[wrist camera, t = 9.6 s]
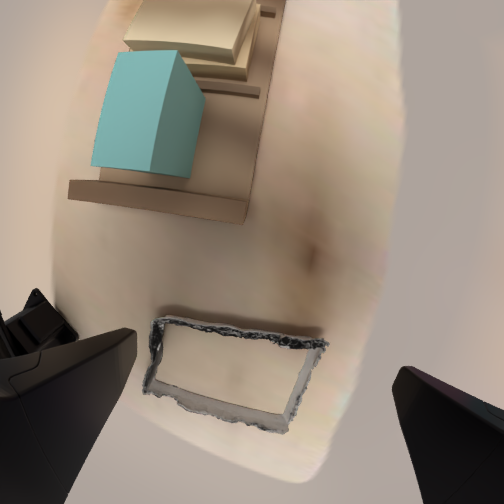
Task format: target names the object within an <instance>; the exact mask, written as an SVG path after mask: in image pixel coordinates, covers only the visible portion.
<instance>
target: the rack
mask: <svg viewBox="0 0 504 504" xmlns="http://www.w3.org/2000/svg"><path fill="white" fill-rule="evenodd" d="M285 2H286V0H256V4H260V24H259V29H258V33H257V37H256V42H255V46H254V51H253V55H252V60H251V65H250V69H249V74H248V79H247V82H243V81H235V80H225V79H215V78H202V77H193V78H194V79H195V81H196V83H197V84H198V86H199V88H200V90H201V91H202V93H203V95H204V97H205V98H206V100H205V104H204V109H203V113H202V118H201V123H200V128H199V133H198V138H197V143H196V148H195V153H194V159H193V164H192V170H191V176H190V178H183V177H175V176H168V175H159V174H151V173H143V172H136V171H129V170H121V169H113V168H105V167H101V171H100V178H99V180H70V182H69V191H68V199H71V200H79V201H87V202H94V203H102V204H109V205H117V206H124V207H131V208H138V209H145V210H151V211H158V212H165V213H171V214H178V215H184V216H191V217H197V218H203V219H209V220H215V221H222V222H228V223H234V224H240V225H243V223H244V221H245V218H246V214H247V209H248V203H249V197H250V191H251V185H252V180H253V174H254V168H255V162H256V157H257V151H258V146H259V140H260V134H261V129H262V123H263V118H264V112H265V107H266V101H267V96H268V90H269V85H270V80H271V74H272V69H273V64H274V58H275V53H276V48H277V43H278V37H279V32H280V27H281V22H282V17H283V12H284V7H285ZM129 51H130V49H129Z"/></svg>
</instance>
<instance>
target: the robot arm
mask: <svg viewBox="0 0 504 504" xmlns="http://www.w3.org/2000/svg"><path fill="white" fill-rule="evenodd" d="M1 315H2V314H1V311H0V504H64V502H65V500H66V498H67V496H68V494H67V493H69V492H70V490H71V488H72V486H73V483H74V481H75V479H76V477H77V476H78V474H79V472H80V470H81V468H82V466H83V464H84V462H85V460H86V458H87V456H88V454H89V452H90V451H91V449H92V447H93V445H94V443H95V441H96V439H97V437H98V436H99V434H100V432H101V430H102V428H103V426H104V425H105V423H106V421H107V419H108V417H109V415H110V414H111V412H112V410H113V408H114V406H115V405H116V403H117V401H118V399H119V397H120V396H121V394H122V391H123V389H124V387H125V384H126V382H127V379H128V377H129V374H130V372H131V369H132V367H133V365H134V362H135V360H136V357H137V333H136V331H135V330H133V329H129V328H121V329H118V330H114V331H111V332H107V333H104V334H100V335H97V336H94V337H90V338H86V339H83V340H79V341H77V340H78V335H77V333H76V332H75V331H74V330H73V329H72V328H71V327H70V326H69V325H68V324H67V322H66V321H65V320H64V319H63V318H62V317H61V316H60V315H59V313H58V312H57V311H56V310H55V309H54V308H53V306H52V305H51V304H50V303H49V302H48V300H47V299H46V298H45V297H44V295H43V294H42V293H41V292H40V291H39V289H37V288H35V289H33V290H32V292H31V294H30V296H29V298H28V300H27V302H26V304H25V307H24V309H23V311H21V312H19V313H18V314H16V315H14V316H13V317H11V318H10V319H8V320H6V321H5V322H4V320H3V318H2V316H1ZM73 337H74V338H73ZM392 393H393V397H394V401H395V406H396V410H397V414H398V419H399V423H400V426H401V430H402V433H403V435H404V439H405V442H406V445H407V448H408V451H409V454H410V458H411V461H412V464H413V467H414V470H415V474H416V478H417V481H418V485H419V489H420V492H421V496H422V500H423V504H504V410H502V409H500V408H497V407H495V406H493V405H491V404H489V403H486V402H483V401H482V400H480V399H478V398H476V397H474V396H472V395H470V394H468V393H466V392H463V391H461V390H459V389H457V388H455V387H453V386H451V385H449V384H447V383H445V382H443V381H441V380H439V379H437V378H435V377H433V376H431V375H429V374H427V373H425V372H423V371H420V370H419V369H417V368H415V367H413V366H403V367H401V369H400V370H399V372H398V374H397V377H396V379H395V381H394V383H393V385H392Z"/></svg>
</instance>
